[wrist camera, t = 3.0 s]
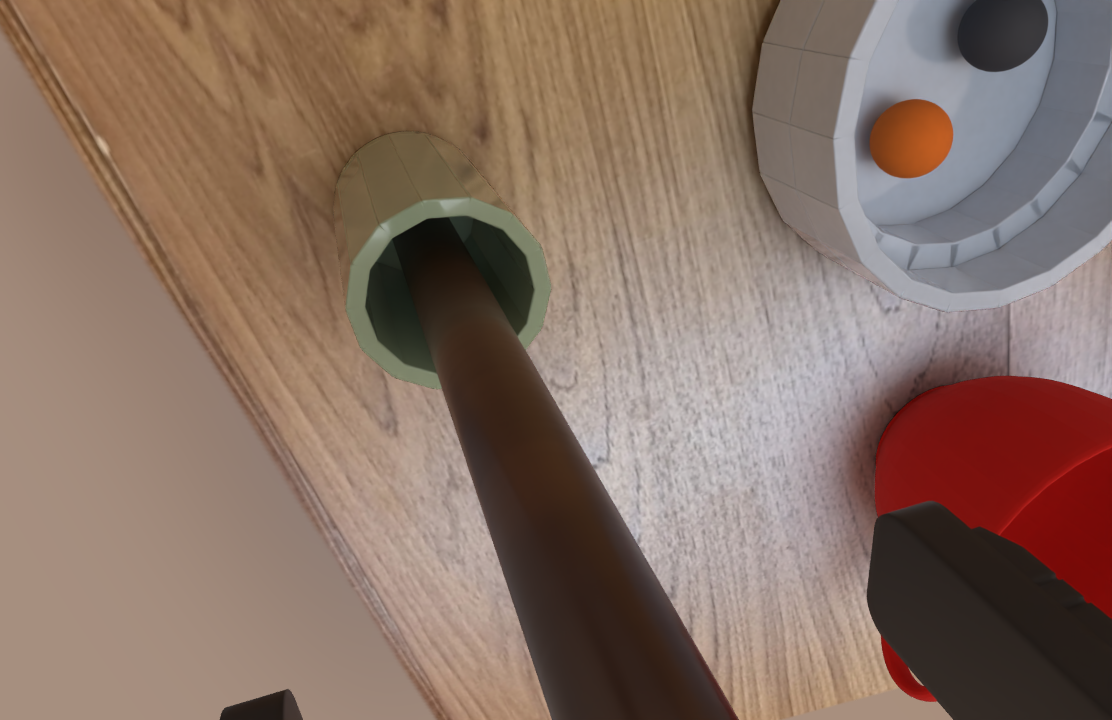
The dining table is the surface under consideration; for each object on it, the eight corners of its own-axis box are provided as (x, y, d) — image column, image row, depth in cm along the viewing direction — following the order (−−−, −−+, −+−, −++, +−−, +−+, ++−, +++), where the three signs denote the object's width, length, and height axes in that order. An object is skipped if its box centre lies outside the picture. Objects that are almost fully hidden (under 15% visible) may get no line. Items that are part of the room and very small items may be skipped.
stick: (373, 218, 28) (583, 955, 7) (405, 172, 27) (722, 812, 7) (420, 248, 29) (723, 973, 8) (451, 203, 28) (853, 850, 8)
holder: (303, 227, 28) (304, 330, 20) (390, 97, 27) (427, 153, 19) (428, 303, 30) (473, 420, 23) (513, 186, 29) (589, 268, 22)
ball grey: (926, 34, 31) (983, 41, 28) (981, -33, 30) (1044, -32, 28) (964, 82, 32) (1022, 93, 30) (1017, 19, 32) (1081, 25, 29)
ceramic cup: (736, 566, 42) (848, 722, 33) (923, 291, 37) (1110, 391, 29) (895, 608, 48) (1025, 751, 39) (1075, 374, 43) (1269, 479, 34)
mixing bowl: (668, 122, 30) (745, 156, 25) (957, -259, 27) (1112, -310, 22) (891, 320, 37) (985, 378, 32) (1136, 40, 34) (1283, 54, 29)
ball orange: (840, 140, 32) (887, 156, 29) (891, 77, 31) (944, 88, 29) (881, 182, 33) (929, 201, 31) (930, 123, 33) (984, 137, 30)
